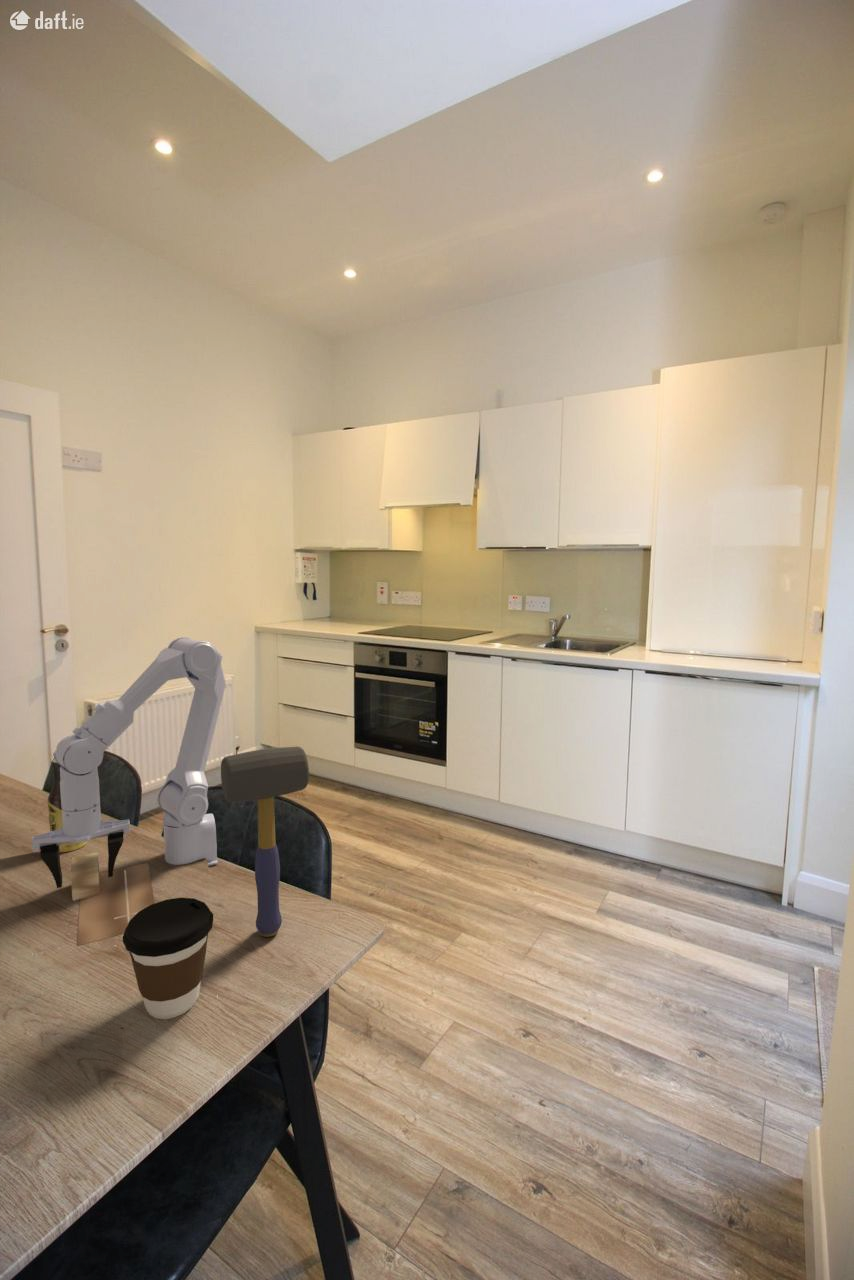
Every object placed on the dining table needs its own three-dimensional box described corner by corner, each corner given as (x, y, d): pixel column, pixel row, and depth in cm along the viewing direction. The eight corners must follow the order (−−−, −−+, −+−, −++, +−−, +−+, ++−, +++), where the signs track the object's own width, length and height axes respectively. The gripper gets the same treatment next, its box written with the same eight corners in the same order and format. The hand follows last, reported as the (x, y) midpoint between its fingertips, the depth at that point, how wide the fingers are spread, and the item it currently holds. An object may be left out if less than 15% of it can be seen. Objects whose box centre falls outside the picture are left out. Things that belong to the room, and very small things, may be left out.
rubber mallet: (233, 958, 87) (226, 763, 83) (224, 930, 93) (217, 749, 90) (314, 933, 93) (311, 751, 89) (300, 909, 99) (297, 738, 95)
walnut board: (148, 870, 111) (148, 862, 111) (158, 933, 92) (157, 924, 92) (82, 884, 106) (81, 877, 106) (77, 955, 87) (77, 945, 87)
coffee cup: (190, 963, 85) (187, 886, 84) (232, 998, 79) (229, 915, 77) (112, 1005, 77) (107, 921, 76) (151, 1049, 70) (146, 957, 69)
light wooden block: (100, 884, 106) (98, 852, 105) (100, 901, 101) (97, 867, 100) (74, 890, 104) (72, 857, 103) (73, 907, 99) (70, 872, 98)
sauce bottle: (54, 848, 120) (47, 755, 117) (89, 843, 122) (83, 751, 120) (49, 863, 114) (42, 765, 111) (86, 857, 116) (79, 760, 114)
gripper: (27, 822, 93) (33, 901, 95) (129, 805, 100) (132, 880, 102) (32, 806, 99) (37, 881, 101) (127, 791, 106) (131, 862, 108)
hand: (85, 879), depth 102 cm, fingers open, 7 cm apart
